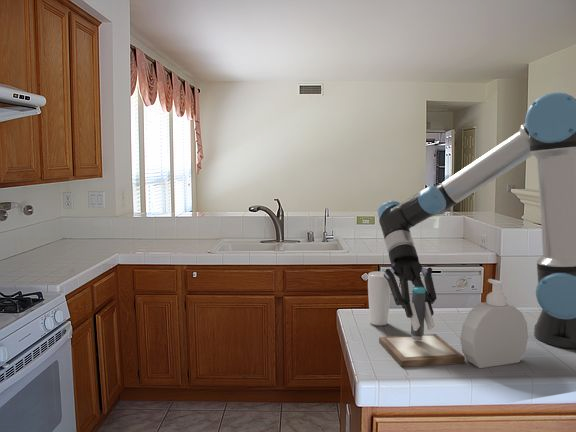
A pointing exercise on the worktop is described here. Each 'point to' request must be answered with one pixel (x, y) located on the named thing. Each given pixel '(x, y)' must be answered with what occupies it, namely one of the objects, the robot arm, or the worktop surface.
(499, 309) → the soap bottle
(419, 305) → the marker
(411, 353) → the writing board
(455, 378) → the worktop surface
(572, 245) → the robot arm
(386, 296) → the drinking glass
